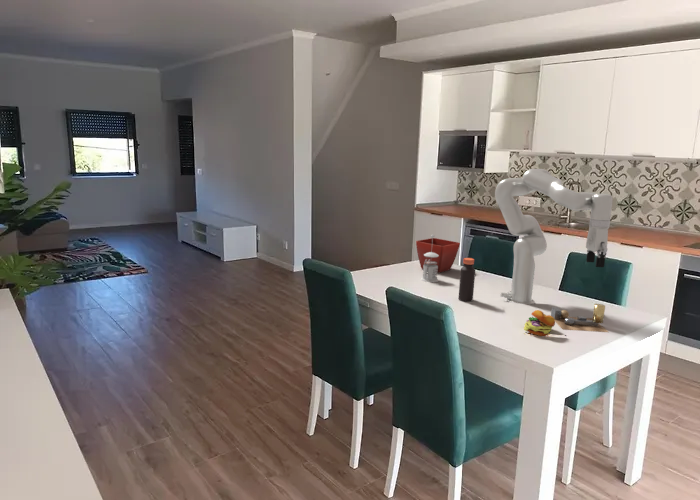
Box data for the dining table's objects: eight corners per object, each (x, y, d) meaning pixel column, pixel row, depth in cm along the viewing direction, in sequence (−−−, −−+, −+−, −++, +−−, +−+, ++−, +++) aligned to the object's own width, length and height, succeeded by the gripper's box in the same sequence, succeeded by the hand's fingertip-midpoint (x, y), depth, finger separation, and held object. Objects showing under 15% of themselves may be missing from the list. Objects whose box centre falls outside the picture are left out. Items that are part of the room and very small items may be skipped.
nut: (560, 319, 215) (561, 311, 215) (558, 316, 219) (559, 308, 218) (569, 320, 215) (570, 311, 214) (566, 317, 219) (567, 309, 218)
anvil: (554, 319, 215) (555, 310, 214) (550, 315, 220) (551, 306, 219) (560, 320, 215) (561, 310, 214) (556, 316, 220) (557, 307, 219)
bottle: (475, 300, 243) (479, 259, 239) (468, 302, 238) (471, 261, 234) (463, 296, 248) (466, 256, 244) (455, 299, 243) (458, 258, 239)
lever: (566, 325, 208) (568, 304, 206) (562, 320, 213) (564, 301, 211) (604, 327, 207) (607, 306, 205) (599, 323, 212) (601, 303, 210)
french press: (441, 279, 280) (444, 234, 275) (433, 283, 270) (436, 237, 265) (425, 276, 285) (428, 232, 280) (416, 280, 275) (419, 235, 270)
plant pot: (458, 270, 303) (460, 242, 299) (440, 275, 289) (442, 246, 286) (431, 264, 316) (433, 237, 312) (413, 268, 302) (415, 241, 299)
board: (562, 332, 204) (562, 329, 203) (549, 318, 220) (549, 315, 220) (608, 335, 202) (609, 332, 202) (592, 320, 219) (592, 318, 219)
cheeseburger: (517, 327, 207) (525, 304, 205) (541, 333, 208) (549, 311, 207) (528, 336, 197) (537, 312, 195) (553, 342, 198) (562, 319, 197)
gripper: (582, 221, 218) (577, 260, 222) (598, 226, 201) (594, 268, 205) (600, 221, 218) (595, 260, 221) (618, 227, 201) (613, 269, 204)
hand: (594, 264), depth 213 cm, fingers open, 9 cm apart
